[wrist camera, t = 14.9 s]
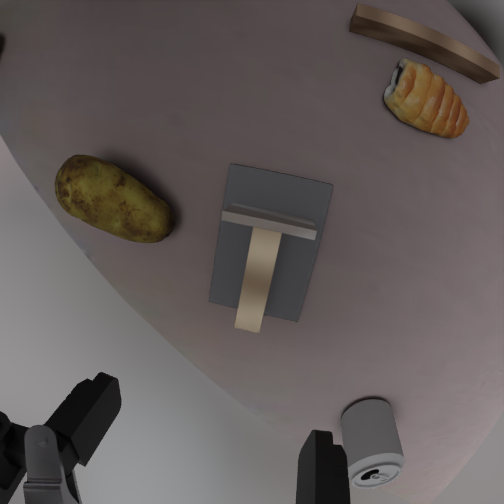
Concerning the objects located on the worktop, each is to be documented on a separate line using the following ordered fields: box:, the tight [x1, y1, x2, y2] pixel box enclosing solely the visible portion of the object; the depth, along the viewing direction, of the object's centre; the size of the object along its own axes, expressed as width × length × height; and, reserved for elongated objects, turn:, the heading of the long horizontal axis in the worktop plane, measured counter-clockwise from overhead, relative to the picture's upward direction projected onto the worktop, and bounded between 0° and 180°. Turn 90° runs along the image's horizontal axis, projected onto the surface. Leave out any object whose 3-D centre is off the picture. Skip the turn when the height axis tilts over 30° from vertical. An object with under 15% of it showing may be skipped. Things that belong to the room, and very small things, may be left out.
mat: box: [209, 164, 333, 322], centre depth 30 cm, size 10×15×1 cm, turn 170°
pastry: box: [384, 58, 469, 138], centre depth 22 cm, size 9×7×4 cm
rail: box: [350, 3, 500, 84], centre depth 20 cm, size 16×2×4 cm, turn 80°
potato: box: [55, 155, 175, 243], centre depth 27 cm, size 8×13×8 cm, turn 39°
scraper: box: [221, 203, 317, 333], centre depth 29 cm, size 11×8×4 cm
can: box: [341, 399, 405, 489], centre depth 30 cm, size 8×8×12 cm
